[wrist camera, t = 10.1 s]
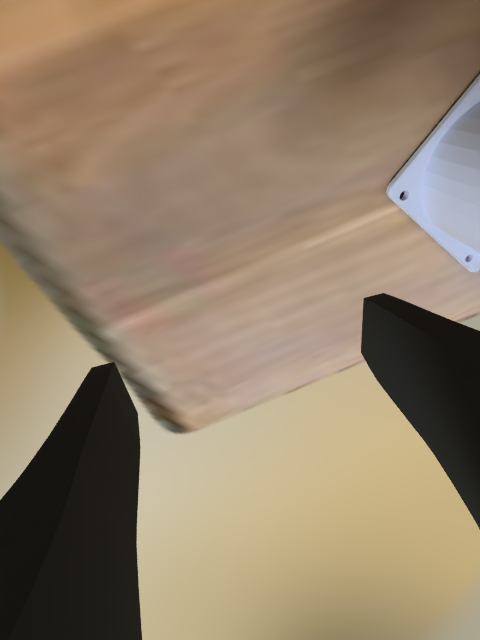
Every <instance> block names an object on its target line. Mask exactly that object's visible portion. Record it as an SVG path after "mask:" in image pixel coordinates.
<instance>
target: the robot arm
mask: <svg viewBox="0 0 480 640" xmlns="http://www.w3.org/2000/svg"><path fill="white" fill-rule="evenodd" d="M403 191H405V192H404V195H403V197H402V198H400V194H401V193H402V192H403ZM386 192H387V195H388V197H389V198H390V199H391V200H392V201H393V202H394V203H396V204H397V205H398V206H399V207H400V208H401V209H402V210H403V211H404V212H405V213H406V214H407V215H409V216H410V217H411V218H412V219H413V220H414V221H415V222H416V223H417V224H418V225H419V226H420V227H422V228H423V229H424V230H425V231H426V232H427V233H428V234H429V235H430V236H431V237H432V238H433V239H434V240H436V241H437V242H438V243H439V244H440V245H441V246H442V247H443V248H444V249H445V250H446V251H447V252H449V253H450V254H451V255H452V256H453V257H454V258H455V259H456V260H457V261H458V262H459V263H460V264H462V265H463V266H464V267H465V268H466V269H467V270H469V271H470V272H472V273H473V272H477V271H479V270H480V74H479V76H478V77H477V78H476V79H475V80H474V82H473V83H472V84H471V85H470V86H469V88H468V89H467V90H466V91H465V93H464V94H463V95H462V96H461V97H460V99H459V100H458V101H457V102H456V103H455V105H454V106H453V107H452V108H451V109H450V111H449V112H448V113H447V114H446V116H445V117H444V118H443V119H442V120H441V122H440V123H439V124H438V125H437V126H436V128H435V129H434V130H433V131H432V133H431V134H430V135H429V136H428V137H427V139H426V140H425V141H424V142H423V143H422V145H421V146H420V147H419V148H418V150H417V151H416V152H415V153H414V154H413V156H412V157H411V158H410V159H409V160H408V162H407V163H406V164H405V165H404V167H403V168H402V169H401V170H400V171H399V173H398V174H397V175H396V176H395V177H394V179H393V180H392V181H391V182H390V184H389V185H388V187H387V190H386ZM467 256H468V257H467ZM466 257H467V258H466ZM361 353H362V355H363V357H364V359H365V360H366V362H367V364H368V366H369V368H370V369H371V371H372V373H373V374H374V376H375V377H376V379H377V381H378V382H379V383H380V385H381V386H382V387H383V389H384V390H385V391H386V392H387V394H388V395H389V396H390V398H391V399H392V400H393V402H394V403H395V404H396V405H397V407H398V408H399V409H400V411H401V412H402V413H403V414H404V415H405V417H406V418H407V419H408V421H409V422H410V423H411V424H412V426H413V427H414V428H415V430H416V431H417V432H418V433H419V435H420V436H421V437H422V438H423V440H424V441H425V442H426V444H427V445H428V447H429V448H430V449H431V451H432V452H433V454H434V455H435V456H436V458H437V460H438V461H439V463H440V464H441V466H442V467H443V469H444V471H445V472H446V474H447V475H448V477H449V478H450V480H451V482H452V483H453V485H454V486H455V488H456V490H457V491H458V493H459V494H460V496H461V498H462V500H463V501H464V503H465V505H466V506H467V508H468V510H469V511H470V513H471V515H472V516H473V518H474V520H475V521H476V523H477V525H478V527H479V529H480V331H478V330H475V329H473V328H470V327H467V326H465V325H462V324H460V323H457V322H454V321H452V320H449V319H447V318H445V317H442V316H440V315H437V314H435V313H432V312H430V311H427V310H425V309H423V308H420V307H418V306H415V305H413V304H411V303H408V302H406V301H403V300H401V299H398V298H396V297H393V296H390V295H387V294H385V293H382V294H378V295H374V296H370V297H367V298H364V303H363V323H362V343H361ZM139 466H140V437H139V424H138V413H137V411H136V409H135V406H134V404H133V402H132V400H131V397H130V395H129V393H128V391H127V389H126V387H125V384H124V382H123V380H122V378H121V376H120V373H119V371H118V369H117V367H116V365H115V363H114V362H112V363H108V364H104V365H100V366H97V367H93V368H91V370H90V371H89V373H88V374H87V376H86V377H85V379H84V381H83V382H82V384H81V386H80V387H79V389H78V390H77V392H76V394H75V395H74V397H73V399H72V400H71V402H70V404H69V405H68V407H67V408H66V410H65V412H64V413H63V415H62V416H61V418H60V420H59V421H58V423H57V424H56V426H55V427H54V429H53V431H52V432H51V433H50V435H49V436H48V438H47V439H46V441H45V442H44V443H43V445H42V447H41V448H40V449H39V451H38V452H37V453H36V455H35V456H34V458H33V459H32V460H31V462H30V463H29V465H28V466H27V467H26V469H25V470H24V471H23V473H22V474H21V475H20V477H19V478H18V479H17V480H16V482H15V483H14V484H13V486H12V487H11V488H10V489H9V490H8V492H7V493H6V494H5V495H4V496H3V498H2V499H1V500H0V640H142V632H141V618H140V603H139V587H138V567H137V548H136V537H137V536H136V535H137V533H136V532H137V508H138V507H137V506H138V487H139V486H138V485H139Z"/></svg>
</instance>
